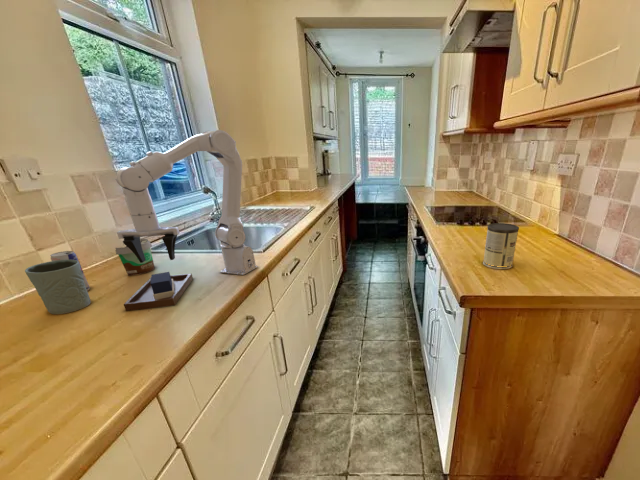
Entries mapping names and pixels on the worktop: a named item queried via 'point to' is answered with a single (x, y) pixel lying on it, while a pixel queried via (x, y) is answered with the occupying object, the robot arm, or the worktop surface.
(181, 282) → the tray
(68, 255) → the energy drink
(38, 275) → the grey plant pot
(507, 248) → the coffee can
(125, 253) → the food container
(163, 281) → the board eraser
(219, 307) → the worktop surface
